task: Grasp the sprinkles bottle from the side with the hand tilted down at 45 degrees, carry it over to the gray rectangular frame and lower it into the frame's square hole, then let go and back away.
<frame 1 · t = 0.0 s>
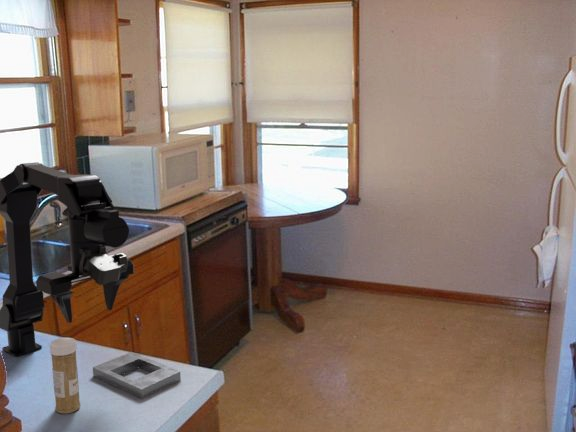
hand: (90, 315, 121), 15 cm above the countertop, tool pointing down, fingers open, 9 cm apart
sprinkles bottle: (67, 409, 114), on the countertop
gray rectangular frame: (136, 378, 127), on the countertop
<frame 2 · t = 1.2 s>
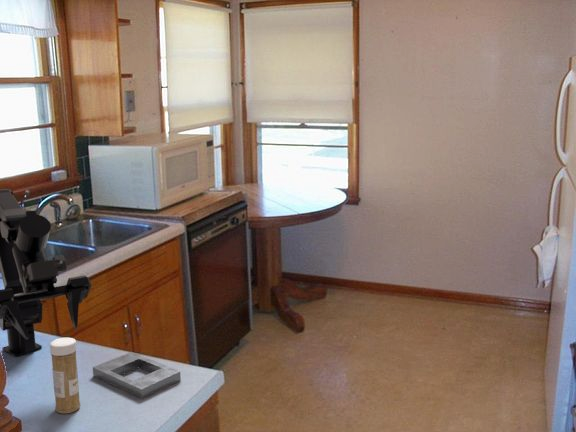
hand: (52, 332, 117), 13 cm above the countertop, tool tilted 45°, fingers open, 9 cm apart
nothing on the countertop moved.
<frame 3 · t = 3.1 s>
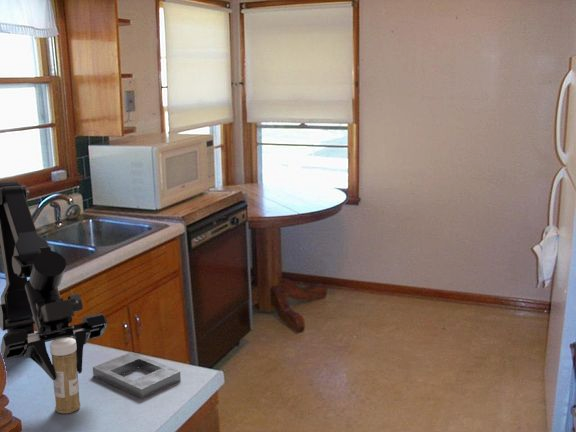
hand: (67, 376, 112), 7 cm above the countertop, tool tilted 45°, fingers closed on sprinkles bottle, 4 cm apart
sprinkles bottle: (67, 409, 114), on the countertop, touching gripper
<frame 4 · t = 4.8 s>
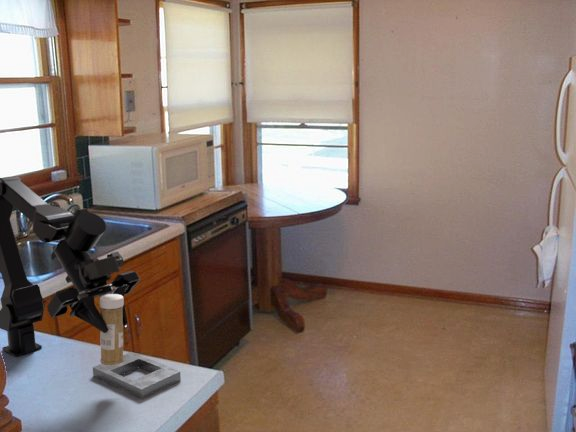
hand: (116, 328, 118), 13 cm above the countertop, tool tilted 45°, fingers closed on sprinkles bottle, 4 cm apart
sprinkles bottle: (111, 362, 120), point 6 cm above the countertop, touching gripper
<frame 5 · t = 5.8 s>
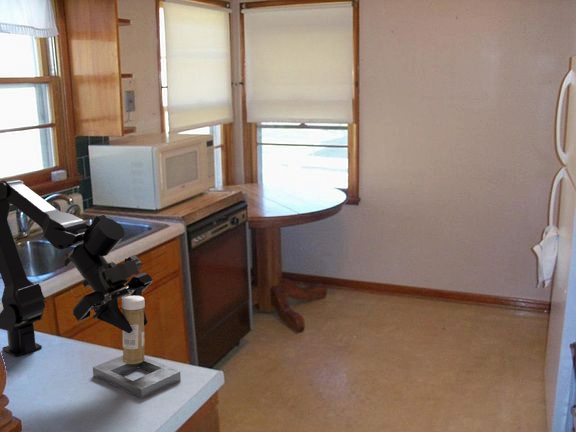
hand: (138, 328, 124), 11 cm above the countertop, tool tilted 45°, fingers closed on sprinkles bottle, 4 cm apart
sprinkles bottle: (133, 361, 126), point 4 cm above the countertop, touching gripper
when the fingers open (9 cm above the countertop, at t = 6.5 s): sprinkles bottle drops 2 cm, resting in gray rectangular frame.
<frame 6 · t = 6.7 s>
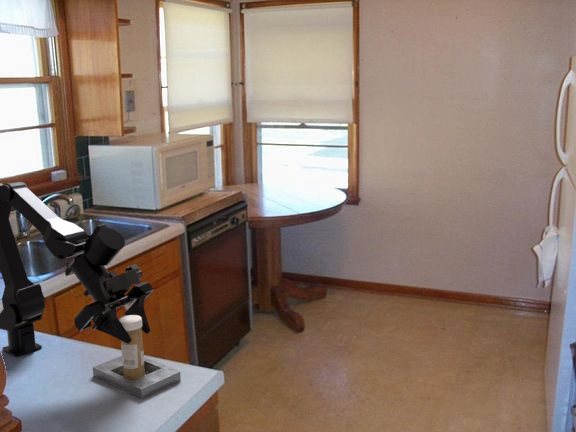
hand: (139, 337, 124), 9 cm above the countertop, tool tilted 45°, fingers open, 5 cm apart
sprinkles bottle: (134, 379, 126), resting in gray rectangular frame, touching gripper
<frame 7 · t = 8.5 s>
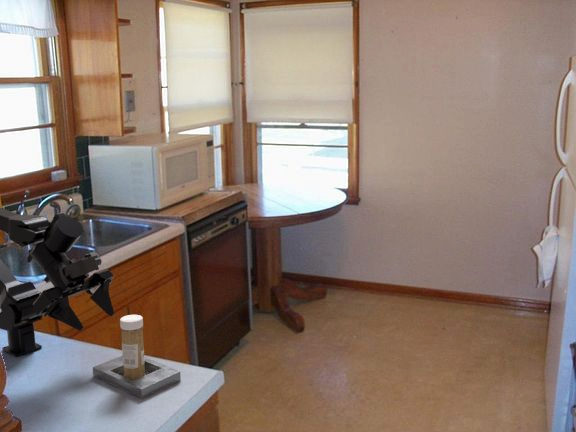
hand: (97, 322, 128), 11 cm above the countertop, tool tilted 45°, fingers open, 9 cm apart
sprinkles bottle: (134, 379, 126), resting in gray rectangular frame
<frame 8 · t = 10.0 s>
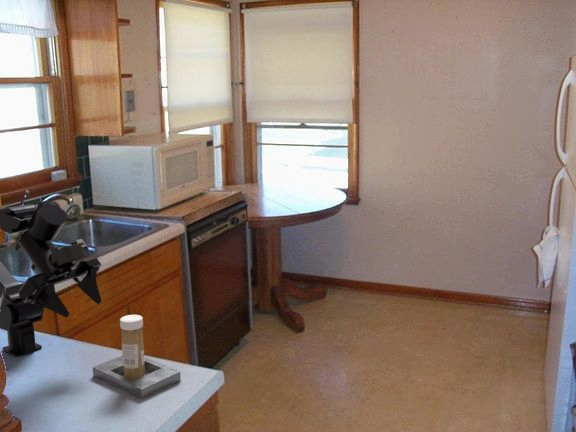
hand: (84, 309, 128), 14 cm above the countertop, tool tilted 45°, fingers open, 9 cm apart
nothing on the countertop moved.
at the end: sprinkles bottle 0.5 cm off-centre on the gray rectangular frame, point 0.0 cm above the gray rectangular frame's base; sprinkles bottle tilted 0°; the gripper is holding nothing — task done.
